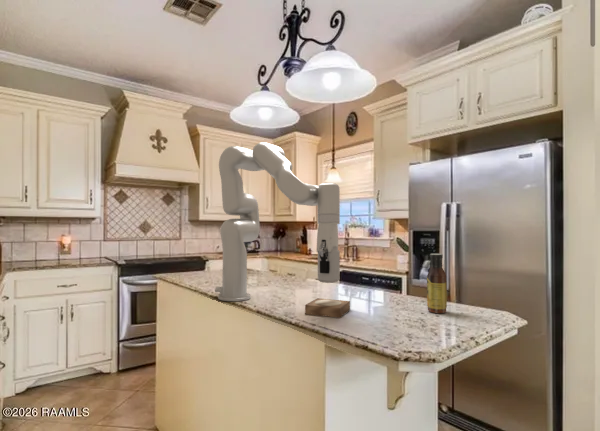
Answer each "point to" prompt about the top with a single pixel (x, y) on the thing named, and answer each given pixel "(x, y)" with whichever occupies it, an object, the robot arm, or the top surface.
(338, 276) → the can
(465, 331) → the top surface
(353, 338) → the top surface
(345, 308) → the base
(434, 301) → the sauce bottle
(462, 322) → the top surface
